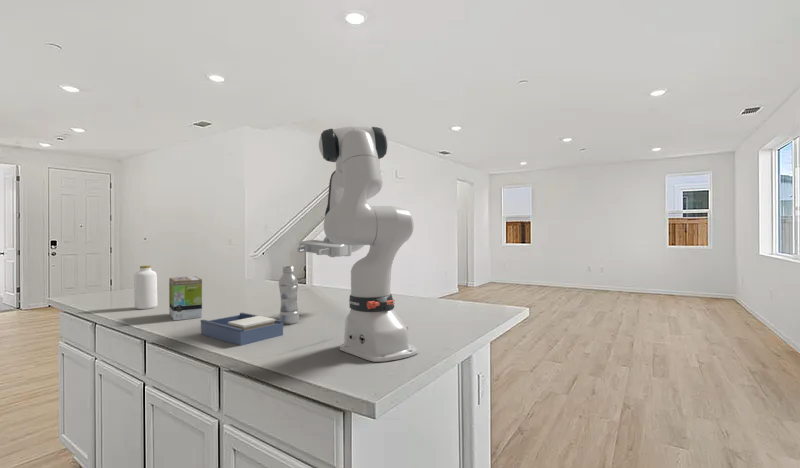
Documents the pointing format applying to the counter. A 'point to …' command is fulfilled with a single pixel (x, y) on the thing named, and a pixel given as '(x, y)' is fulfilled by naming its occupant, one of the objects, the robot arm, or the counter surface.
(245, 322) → the carton
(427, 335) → the counter surface
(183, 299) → the tea box
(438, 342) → the counter surface
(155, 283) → the potion bottle
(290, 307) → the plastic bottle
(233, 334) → the tote
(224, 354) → the counter surface
